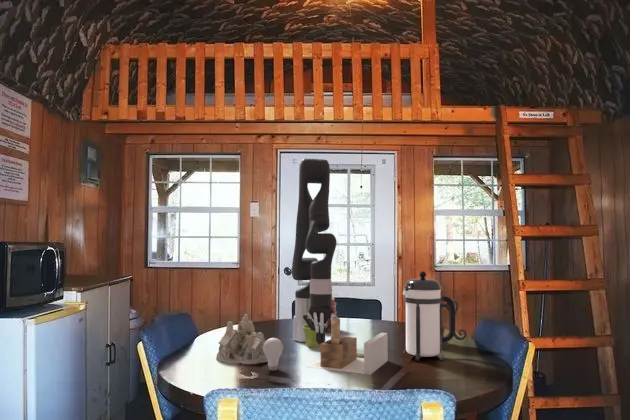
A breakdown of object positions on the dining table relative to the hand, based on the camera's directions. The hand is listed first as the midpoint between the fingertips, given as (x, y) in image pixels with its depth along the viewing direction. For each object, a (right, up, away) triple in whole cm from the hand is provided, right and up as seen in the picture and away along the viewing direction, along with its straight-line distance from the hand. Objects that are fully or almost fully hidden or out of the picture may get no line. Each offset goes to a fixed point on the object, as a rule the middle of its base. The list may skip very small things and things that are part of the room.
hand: (320, 343), depth 174 cm
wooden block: (+17, -6, 0) cm, 18 cm away
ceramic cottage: (-27, -6, +3) cm, 28 cm away
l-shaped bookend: (+9, -6, -9) cm, 13 cm away
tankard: (+46, -8, +28) cm, 54 cm away
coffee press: (+37, -7, +7) cm, 38 cm away
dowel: (+4, -2, -11) cm, 12 cm away
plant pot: (-2, -7, +18) cm, 19 cm away
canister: (+1, -9, +57) cm, 57 cm away
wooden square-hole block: (+6, -4, -8) cm, 10 cm away
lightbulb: (-15, -5, -16) cm, 22 cm away
